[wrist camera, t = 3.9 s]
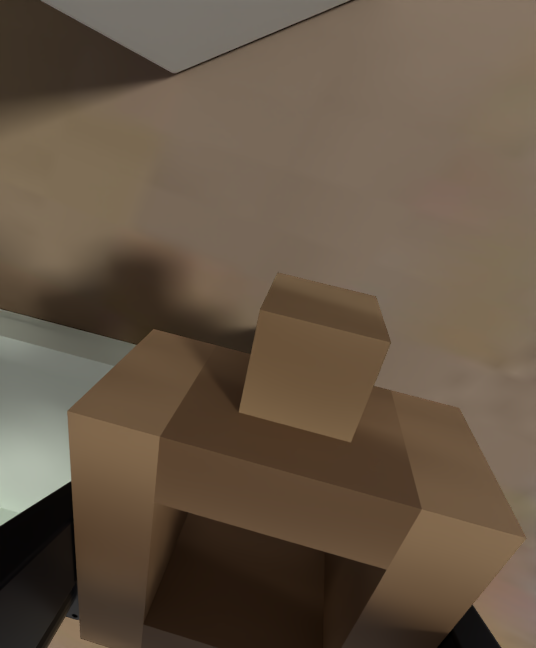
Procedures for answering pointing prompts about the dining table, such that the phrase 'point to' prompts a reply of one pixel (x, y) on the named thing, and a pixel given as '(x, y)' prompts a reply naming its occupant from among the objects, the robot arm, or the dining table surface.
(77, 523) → the ring
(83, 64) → the dining table surface
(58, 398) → the tray
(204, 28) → the milk carton
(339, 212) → the dining table surface
